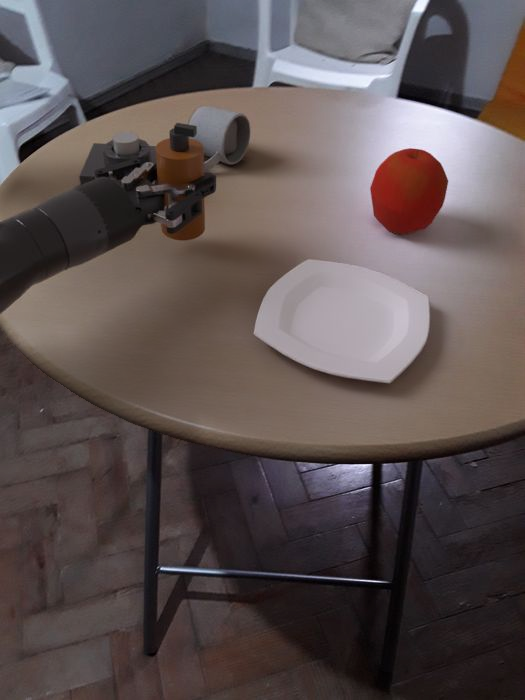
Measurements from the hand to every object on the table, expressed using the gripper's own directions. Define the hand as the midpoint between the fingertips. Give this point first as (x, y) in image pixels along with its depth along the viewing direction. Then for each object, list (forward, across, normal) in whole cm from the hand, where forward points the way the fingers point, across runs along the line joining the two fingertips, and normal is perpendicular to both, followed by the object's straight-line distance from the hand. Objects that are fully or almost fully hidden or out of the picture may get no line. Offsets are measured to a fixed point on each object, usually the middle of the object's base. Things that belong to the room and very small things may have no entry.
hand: (195, 172), depth 78 cm
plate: (0, -24, +10) cm, 27 cm away
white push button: (+3, +17, +4) cm, 18 cm away
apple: (+23, -18, +10) cm, 31 cm away
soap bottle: (-2, 0, +7) cm, 7 cm away
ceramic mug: (+18, +14, +10) cm, 25 cm away
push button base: (+3, +17, +10) cm, 20 cm away
